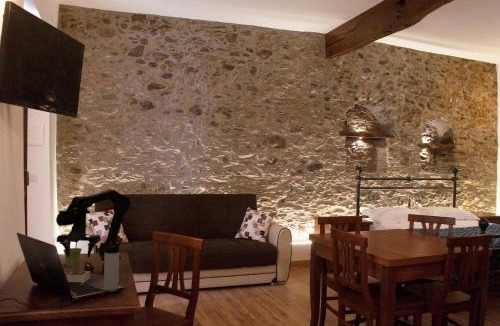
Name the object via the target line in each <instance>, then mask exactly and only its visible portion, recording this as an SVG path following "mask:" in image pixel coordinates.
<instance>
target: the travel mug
mask: <svg viewBox="0 0 500 326" xmlns="http://www.w3.org/2000/svg"><path fill="white" fill-rule="evenodd" d="M120 246H121V244H120V243H117V242H116V244H110V245H107V246H105V255H104V261H103V264H104V275H103V291H104V290H106V291H109V292H111V293H112V292H116V291H118V290H119V283H120V282H119V279H120V278H119V277H120V261H119V256H120ZM106 291H105V292H106ZM109 292H108V293H109Z"/></svg>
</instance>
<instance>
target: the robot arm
mask: <svg viewBox="0 0 500 326" xmlns="http://www.w3.org/2000/svg"><path fill="white" fill-rule="evenodd" d="M106 200H109V201H110V202H111V203H112V209H113V210H112V211H113V214H112V218H111V222H110V226H109V228H108V229H109V230H108V231H107V235H106V239H105V241H104V242H101V241H102V237H101V235H100V234H92V235H90V236H87V228H88V225H87V215H88V214H91V211H90V210H89V208H90V207H92V206H93V205H95V204H97V203H100V202H103V201H106ZM131 203H132V201H131V199H130V197H128V196H125V195H123V194H121V193H120V192H118V190H115V189H107V190H105V191H102V192H98V193H94V194H91V195H79V196H74V197H73V198H72V199H71V202H70V204H69V205H68V207H66V209H65V210H59V212H58V214H57V216H56V218H55V221H56V225H58V226H59V227H64V226H71V229H70V231H69V233H67V234H64V233H63V234H60V235H58V236H56V243H59V244H60V245H62V246H63V248H64V249H65V251H66V253H67V256H68V257H70V248H71V243H79V242H81V241H82V242H85V241H86V242H87V247H88V248H87V258H90V257H91V254H92V251H93V249H94V248H95V245H97V244H98V243H100V242H101V243H100V245H99V248H98V255H99V258H100V260H101V261H102V262H104V255H105V246H107V245H110V244H117V240H118V237H119V233H120V229H121V225H122V222H123V218H124V215H125V214H126V213H127V212H128V211H129V208H130V206H131ZM121 258H122V257H121V255H119V262H121ZM101 268H102V273H101V274H102V275H103V276H104V263H103V264H102V267H101Z"/></svg>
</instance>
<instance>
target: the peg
mask: <svg viewBox="0 0 500 326" xmlns="http://www.w3.org/2000/svg"><path fill="white" fill-rule="evenodd" d="M85 264H86V263H85V261H79V262H75V263H73V266H72V269H71V272H72V275H83V274H84V271H85Z"/></svg>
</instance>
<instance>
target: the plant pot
mask: <svg viewBox="0 0 500 326" xmlns="http://www.w3.org/2000/svg"><path fill="white" fill-rule="evenodd" d="M82 250H83V249H82V248H80V247H70V257H68V256H67V253H66V251H65V248H64V249H63V253H64V257H65V266H66V267H67V266H68V267H69V268H71V267H72V268H73V263H75V262H80V258H81V257H80V256H81V253H82Z"/></svg>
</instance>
